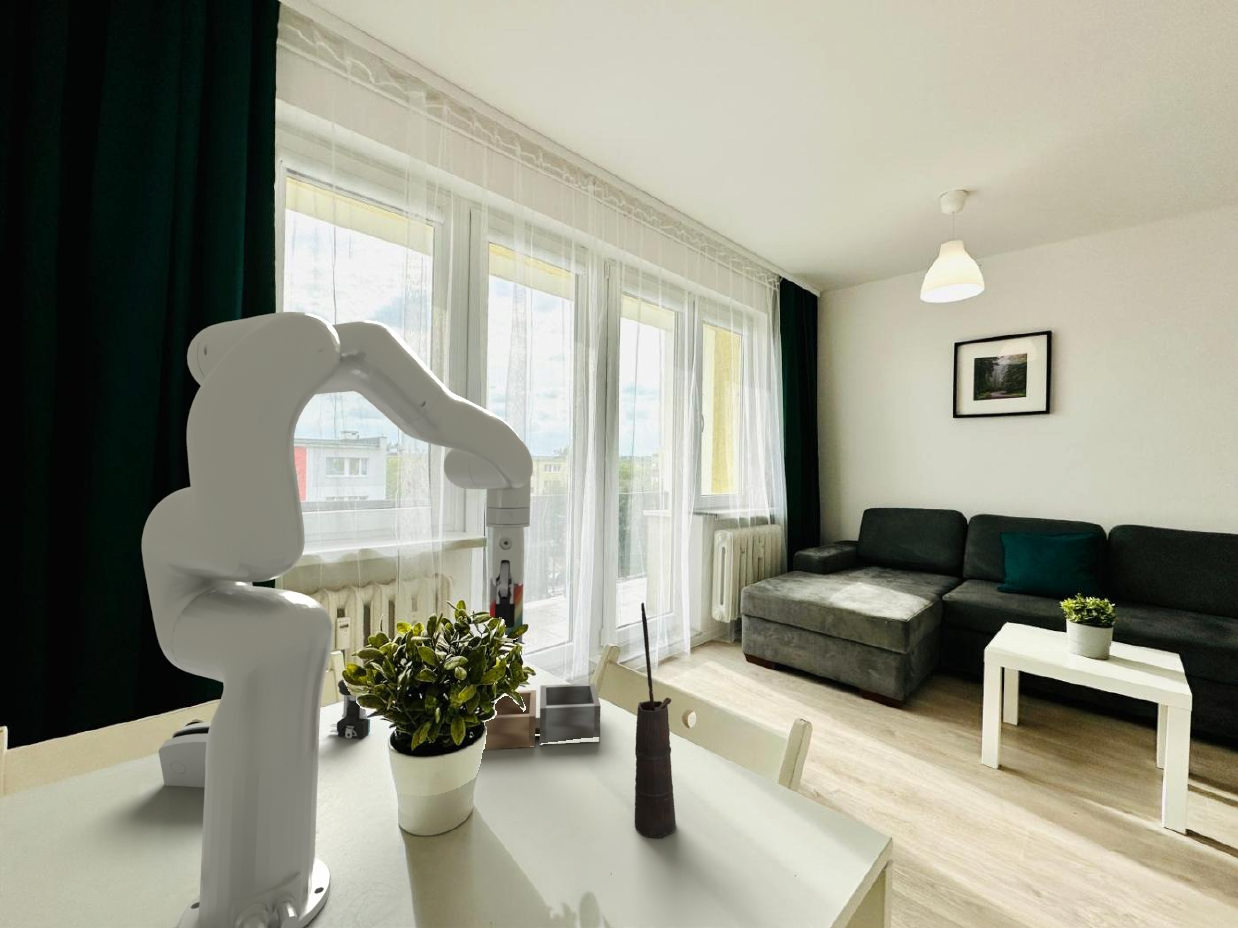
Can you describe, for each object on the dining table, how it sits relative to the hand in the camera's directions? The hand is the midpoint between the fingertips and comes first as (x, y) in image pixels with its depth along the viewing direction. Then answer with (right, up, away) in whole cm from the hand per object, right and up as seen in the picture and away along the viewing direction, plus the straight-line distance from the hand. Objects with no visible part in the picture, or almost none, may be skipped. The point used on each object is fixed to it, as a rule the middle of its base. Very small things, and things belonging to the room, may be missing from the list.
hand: (506, 621), depth 92 cm
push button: (-26, -19, -2) cm, 32 cm away
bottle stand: (+5, -19, 0) cm, 20 cm away
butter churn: (+25, -19, -24) cm, 39 cm away
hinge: (-36, -18, -17) cm, 44 cm away
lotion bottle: (0, -8, 0) cm, 8 cm away
